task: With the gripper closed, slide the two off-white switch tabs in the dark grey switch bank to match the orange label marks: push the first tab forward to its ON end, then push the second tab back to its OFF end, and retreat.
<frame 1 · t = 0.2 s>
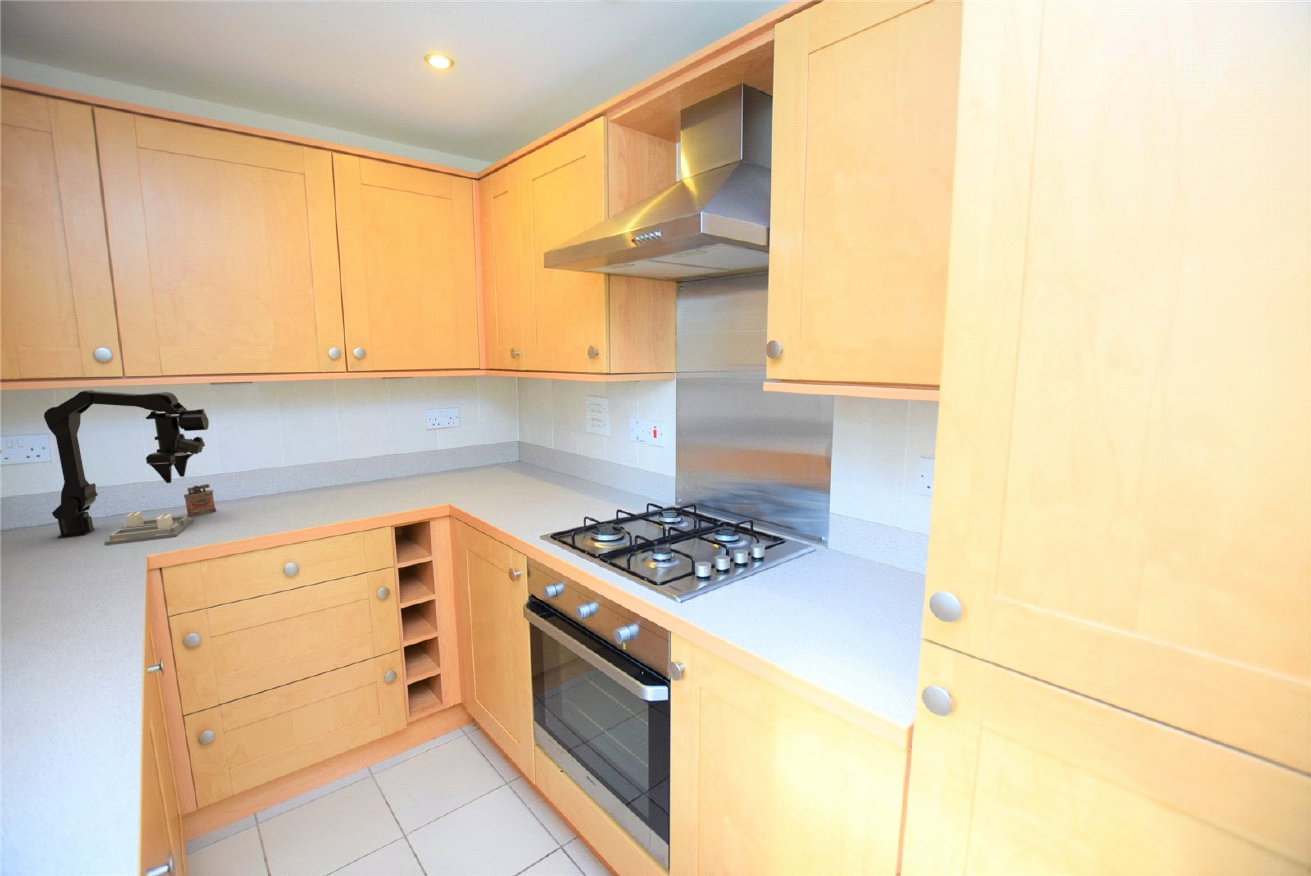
hand: (175, 479, 190), 14 cm above the worktop, fingers open, 9 cm apart
lighter: (202, 514, 201), on the worktop
tab 1: (135, 520, 183), point 4 cm above the worktop, slide at 0.0 cm
tab 2: (165, 523, 179), point 4 cm above the worktop, slide at 10.0 cm
switch bank: (151, 532, 182), on the worktop
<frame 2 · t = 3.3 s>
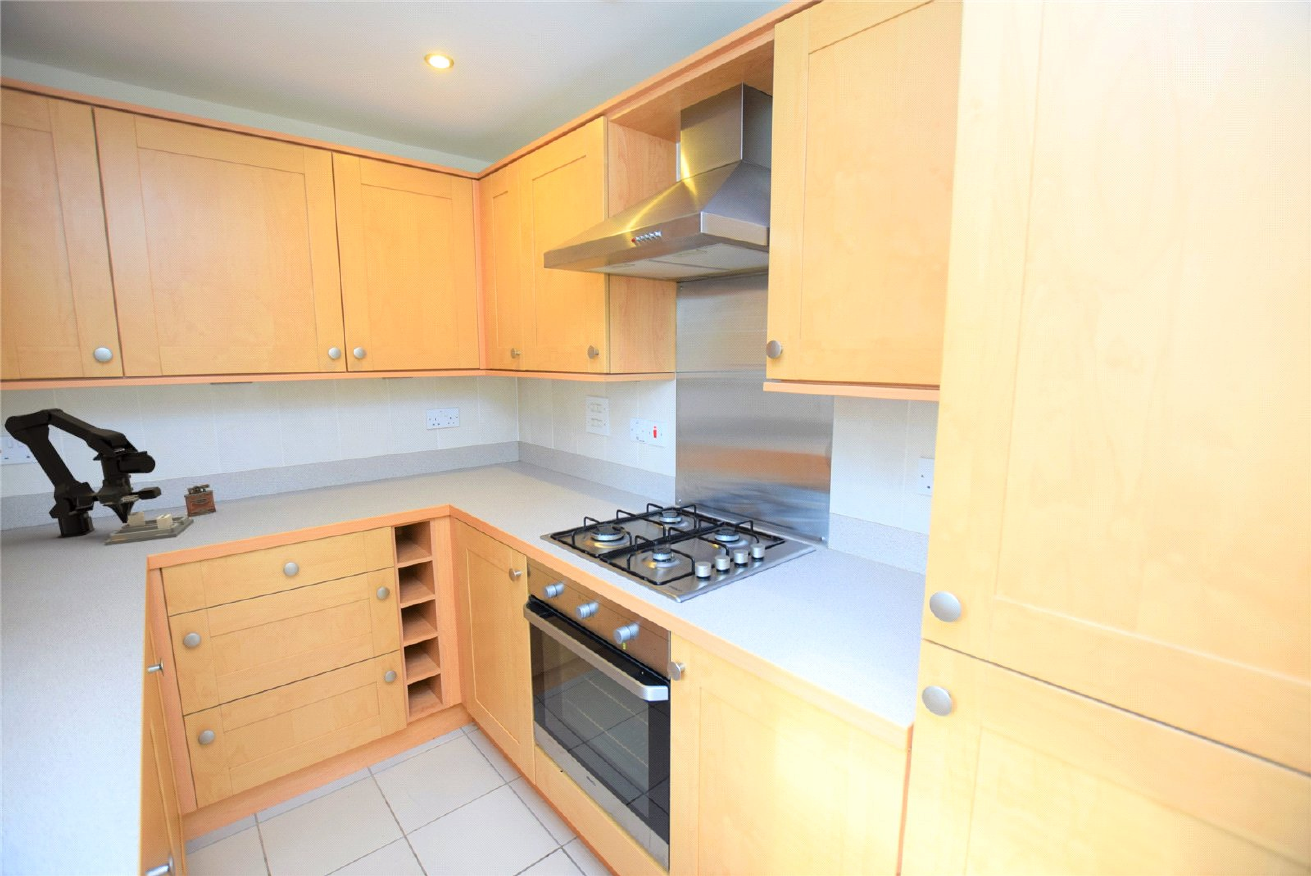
hand: (125, 523, 182), 3 cm above the worktop, fingers closed
tab 1: (136, 520, 183), point 4 cm above the worktop, slide at 0.4 cm, touching gripper
everything else where it was.
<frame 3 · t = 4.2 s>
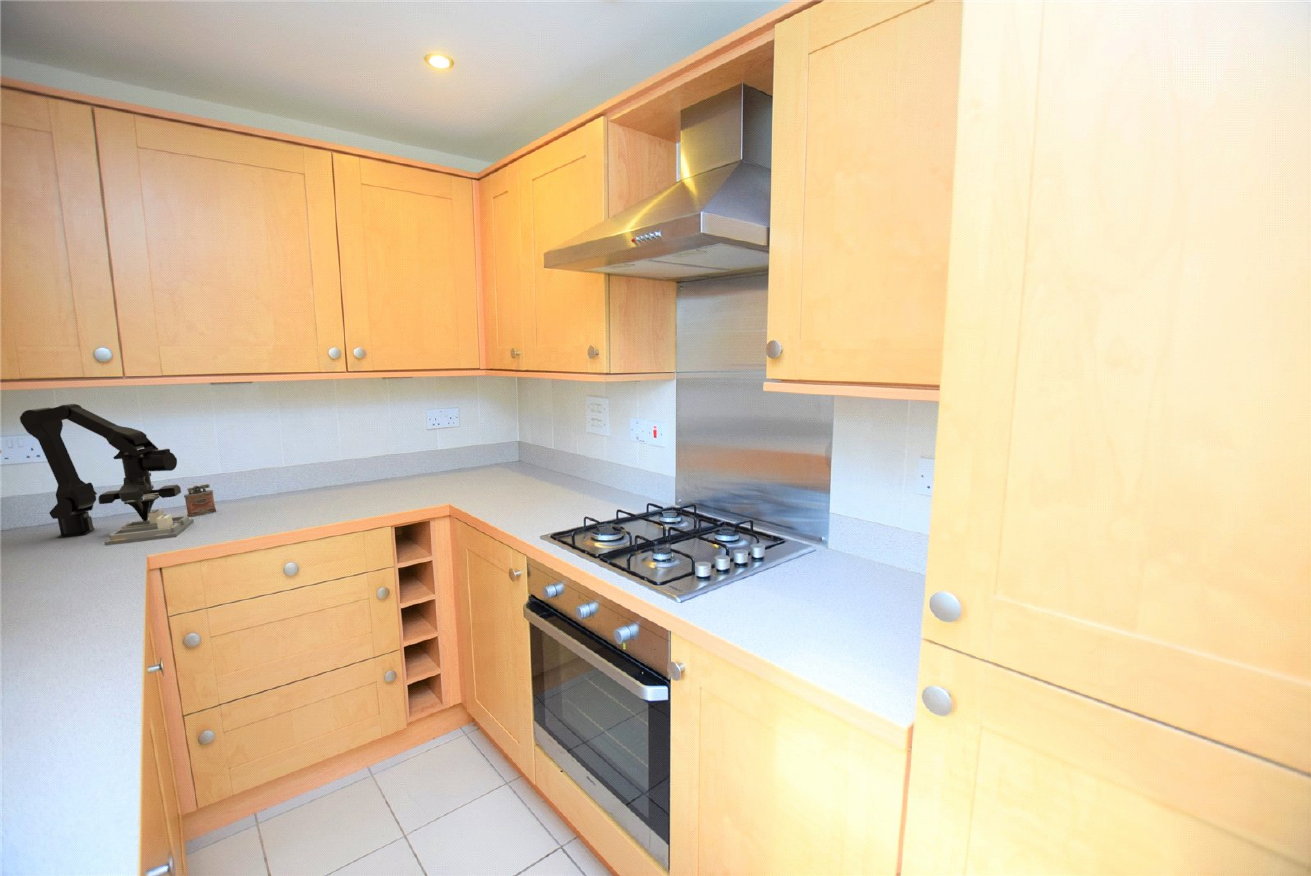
hand: (145, 520, 184), 3 cm above the worktop, fingers closed
tab 1: (156, 518, 185), point 4 cm above the worktop, slide at 5.5 cm, touching gripper
everything else where it was.
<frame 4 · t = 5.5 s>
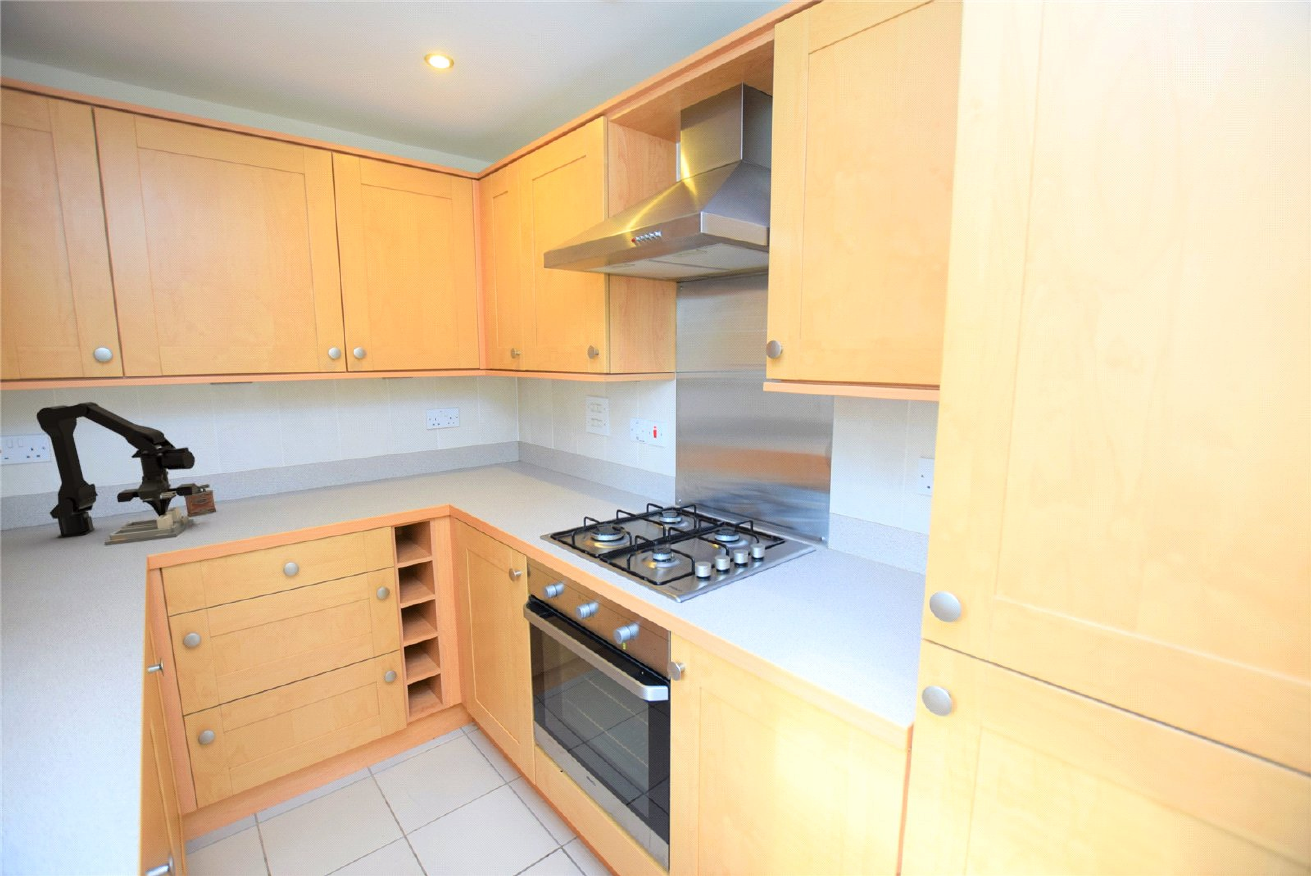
hand: (163, 518, 186), 3 cm above the worktop, fingers closed
tab 1: (174, 516, 187), point 4 cm above the worktop, slide at 9.9 cm, touching gripper
everything else where it was.
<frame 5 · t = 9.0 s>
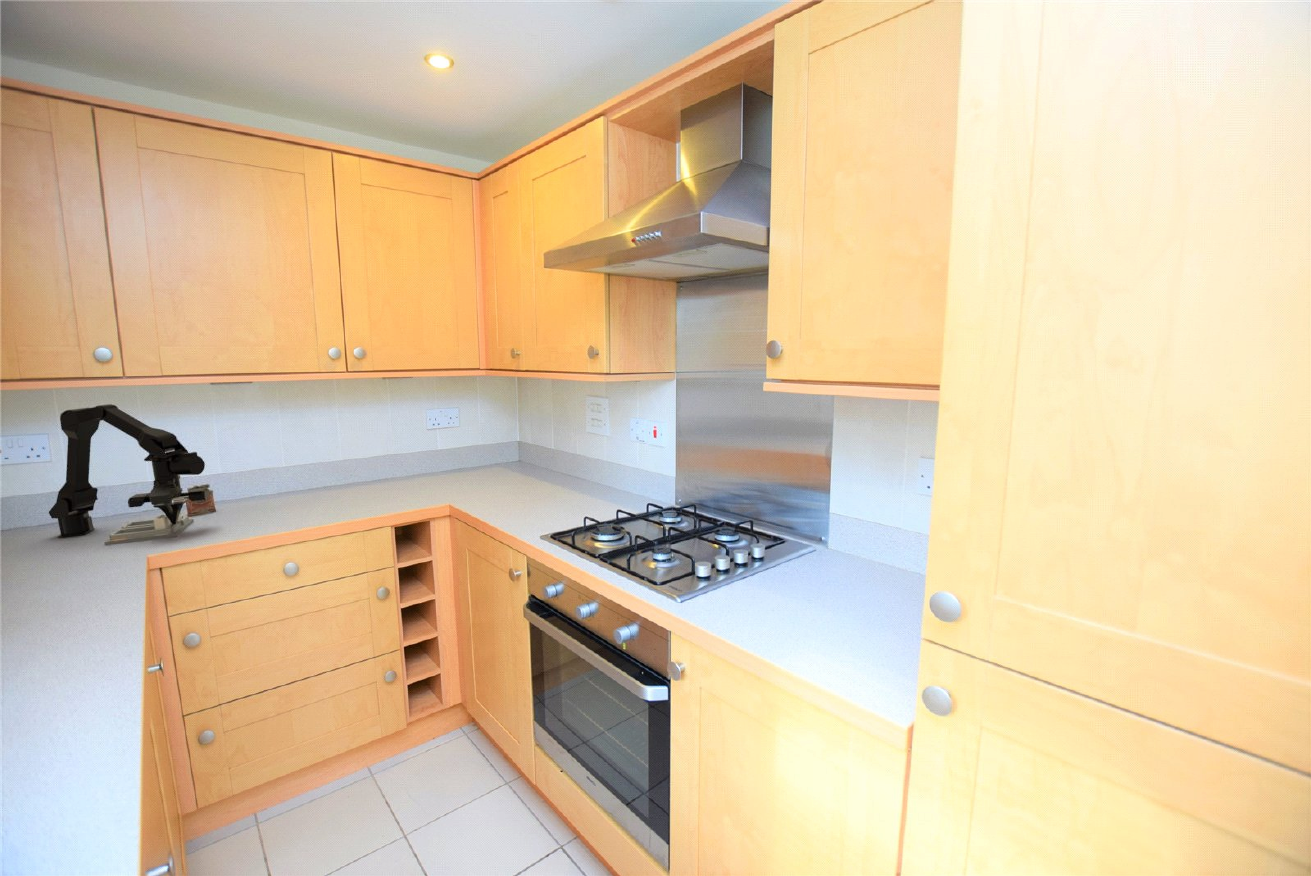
hand: (174, 524, 180), 3 cm above the worktop, fingers closed
tab 1: (174, 516, 187), point 4 cm above the worktop, slide at 9.9 cm
tab 2: (162, 523, 179), point 4 cm above the worktop, slide at 9.3 cm, touching gripper
everything else where it was.
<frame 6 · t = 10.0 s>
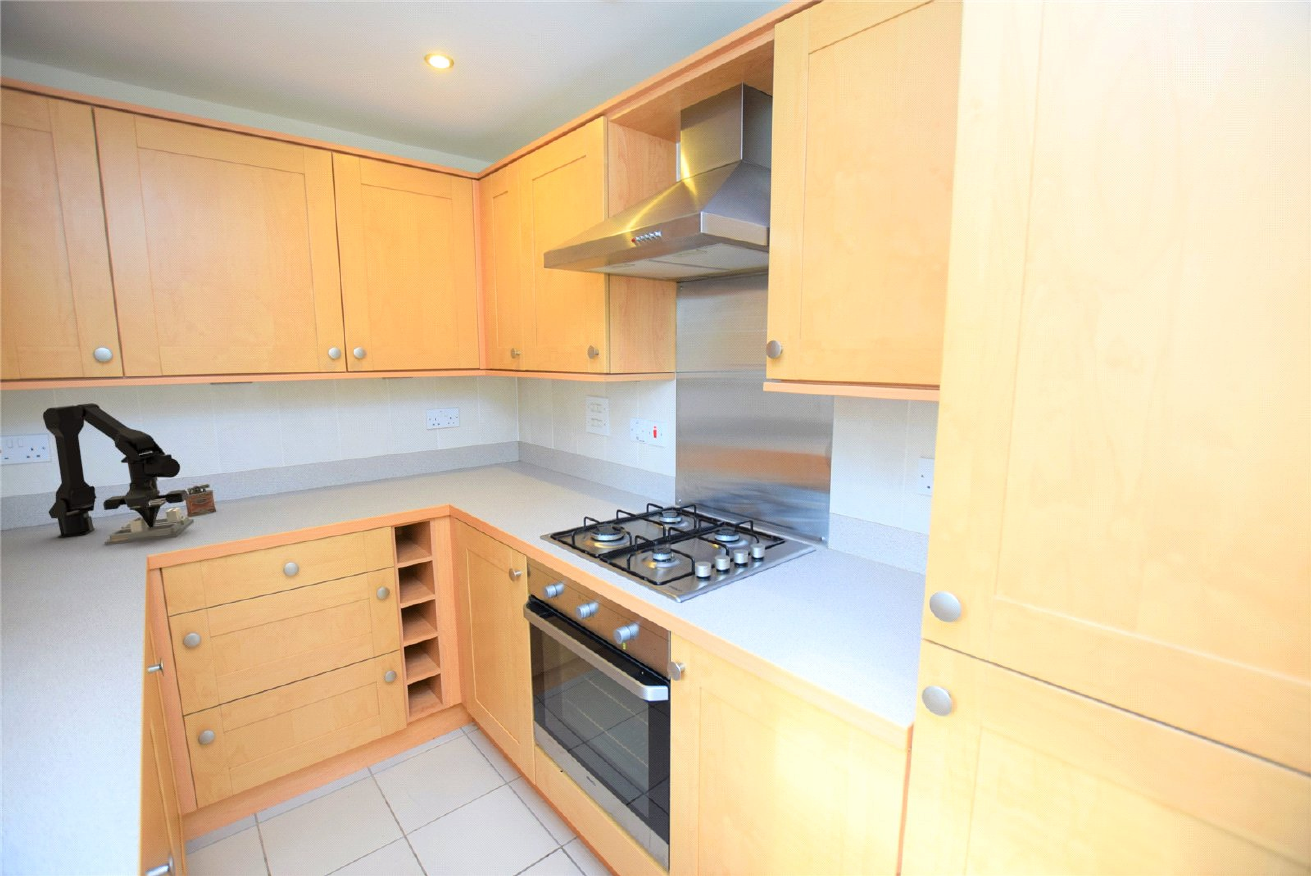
hand: (151, 526, 178), 3 cm above the worktop, fingers closed
tab 2: (138, 526, 177), point 4 cm above the worktop, slide at 3.6 cm, touching gripper
everything else where it was.
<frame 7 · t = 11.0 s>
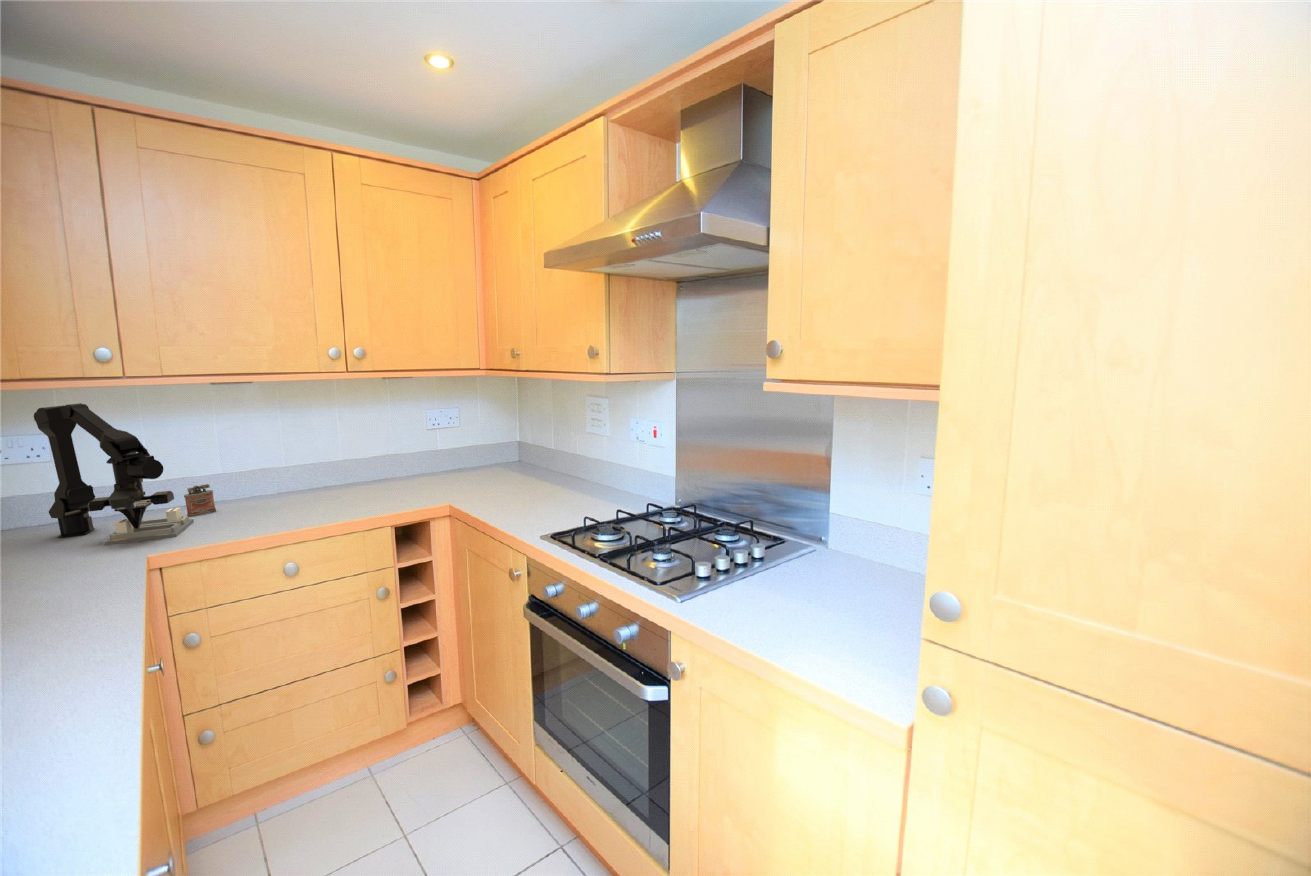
hand: (137, 528, 177), 3 cm above the worktop, fingers closed
tab 2: (124, 527, 176), point 4 cm above the worktop, slide at 0.1 cm, touching gripper
everything else where it was.
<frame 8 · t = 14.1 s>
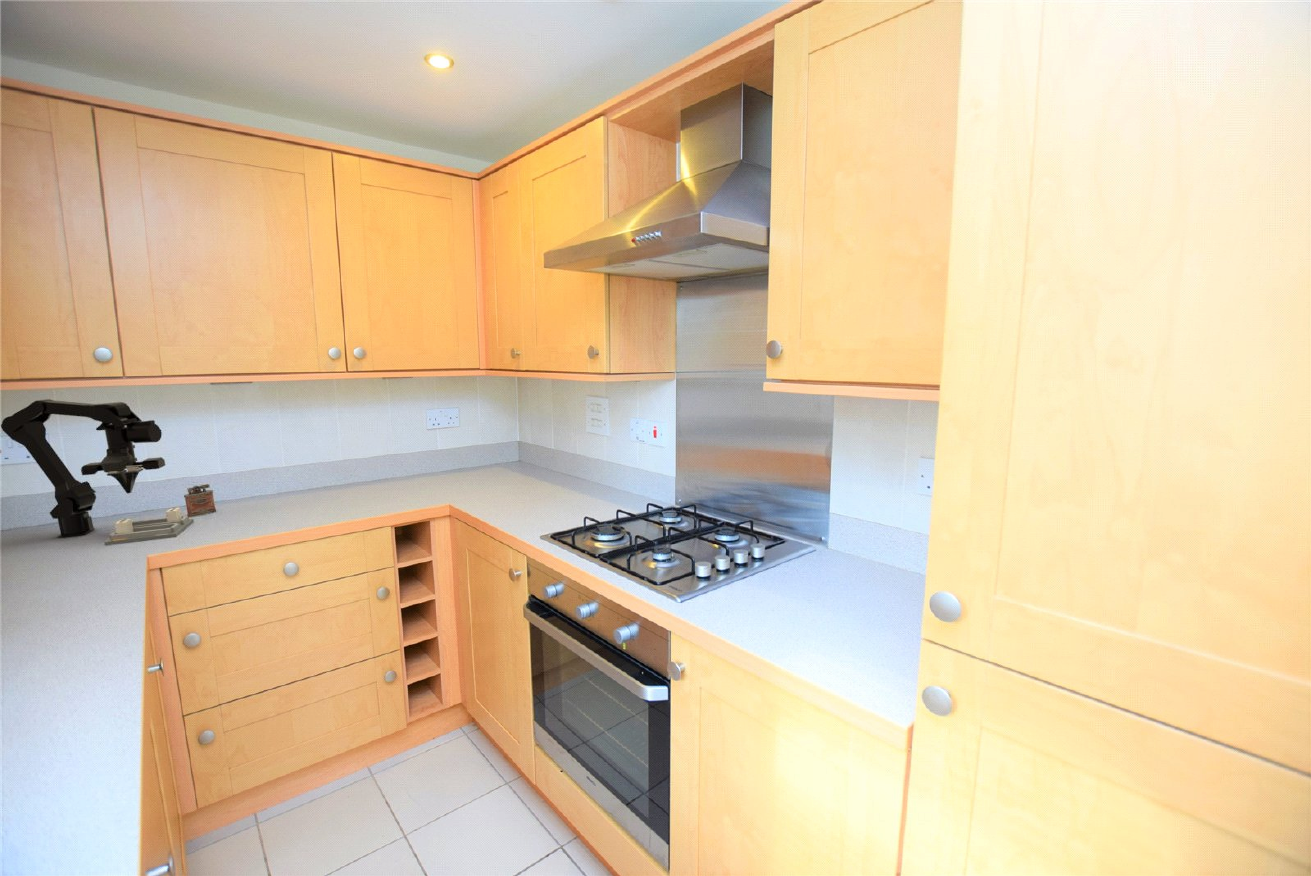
hand: (129, 493, 183), 12 cm above the worktop, fingers closed
tab 2: (124, 527, 176), point 4 cm above the worktop, slide at 0.1 cm
everything else where it was.
at the end: tab 1 slide at 9.9 cm; tab 2 slide at 0.1 cm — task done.
